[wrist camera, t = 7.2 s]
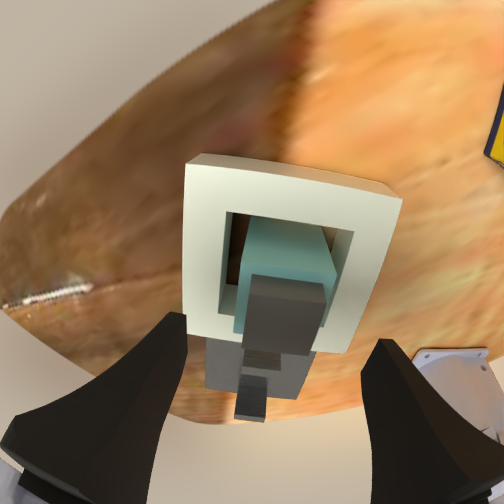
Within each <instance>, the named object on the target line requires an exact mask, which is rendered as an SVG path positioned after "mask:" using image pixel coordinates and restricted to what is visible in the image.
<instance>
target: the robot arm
mask: <svg viewBox="0 0 504 504" xmlns="http://www.w3.org/2000/svg"><path fill="white" fill-rule="evenodd" d="M187 353H188V350H187V315H186V314H181V313H175V312H169V313H168V314H167V315H166V316H165V317H164V318H163V319H162V320H161V321H160V322H159V323H158V324H157V325H156V326H155V327H154V328H153V329H152V330H151V331H150V332H149V333H148V334H147V335H146V336H145V337H144V338H143V339H142V340H141V341H140V342H139V343H138V344H137V345H136V346H135V347H134V348H133V349H131V350H130V351H129V352H128V353H127V354H126V355H124V356H123V357H122V358H121V359H120V360H118V361H117V362H116V363H115V364H114V365H112V366H111V367H110V368H108V369H107V370H106V371H104V372H103V373H102V374H100V375H99V376H97V377H96V378H95V379H93V380H91V381H90V382H88V383H87V384H85V385H84V386H82V387H81V388H79V389H77V390H75V391H73V392H72V393H70V394H68V395H66V396H64V397H62V398H60V399H58V400H55V401H54V402H51V403H49V404H47V405H45V406H42V407H40V408H37V409H34V410H31V411H28V412H26V413H23V414H20V415H16V416H15V417H14V419H13V420H12V422H11V423H10V425H9V427H8V429H7V431H6V432H5V434H4V436H3V438H2V440H1V442H0V447H1V449H2V450H3V451H4V452H6V453H7V454H8V455H9V456H10V457H11V458H13V459H14V460H15V461H16V462H17V463H18V464H20V465H21V466H22V467H24V468H25V469H24V471H23V473H21V472H19V471H18V470H16V469H15V468H13V467H12V466H11V465H9V464H8V463H6V462H5V461H4V460H2V459H1V458H0V504H146V502H147V495H148V489H149V483H150V478H151V472H152V468H153V463H154V458H155V454H156V450H157V445H158V442H159V437H160V433H161V430H162V427H163V424H164V421H165V419H166V416H167V413H168V411H169V408H170V405H171V403H172V400H173V398H174V395H175V392H176V390H177V387H178V385H179V382H180V379H181V377H182V373H183V369H184V365H185V361H186V357H187ZM488 354H489V350H488V348H476V349H422V350H420V351H418V353H417V354H416V356H415V357H414V359H413V360H412V361H411V360H410V359H409V358H408V356H407V355H406V354H405V353H404V352H403V350H402V349H401V348H400V347H399V346H398V345H397V343H396V342H395V341H394V340H393V339H380V338H379V340H378V342H377V344H376V346H375V348H374V349H373V351H372V353H371V355H370V357H369V359H368V360H367V362H366V364H365V366H364V368H363V369H362V371H361V388H362V398H363V403H364V409H365V414H366V419H367V424H368V429H369V435H370V441H371V449H372V492H371V503H370V504H504V393H503V391H502V389H501V387H500V385H499V383H498V381H497V380H496V377H495V375H494V373H493V372H492V370H491V368H490V366H489V364H488V362H487V360H486V359H485V358H486V356H487V355H488Z"/></svg>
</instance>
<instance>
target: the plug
mask: <svg viewBox="0 0 504 504" xmlns="http://www.w3.org/2000/svg"><path fill="white" fill-rule="evenodd" d="M336 277H337V273H336V270H335V267H334V264H333V261H332V258H331V255H330V252H329V249H328V246H327V243H326V240H325V237H324V234H323V231H322V228H321V226H317V225H310V224H304V223H298V222H291V221H285V220H278V219H271V218H264V217H257V216H251V218H250V223H249V227H248V232H247V236H246V241H245V246H244V250H243V255H242V259H241V266H240V274H239V283H238V291H237V300H236V309H235V317H234V326H233V333H236V334H243V339H242V345H241V348H242V349H250V350H257V351H265V352H273V353H282V354H292V355H302V356H309V354H310V351H311V348H312V346H313V343H314V342H315V339H316V336H317V334H318V331H319V328H320V325H321V322H322V319H323V316H324V314H325V311H326V308H327V305H328V302H329V299H330V295H331V292H332V289H333V286H334V283H335V280H336Z"/></svg>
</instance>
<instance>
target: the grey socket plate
mask: <svg viewBox="0 0 504 504" xmlns="http://www.w3.org/2000/svg"><path fill="white" fill-rule="evenodd" d="M241 345H242V343H241V342H234V341H228V340H221V339H215V338H210V337H206V370H205V388H208V389H214V390H220V391H226V392H233V393H237V399H236V406H235V413H234V419H238V420H246V421H254V422H263V423H264V421H265V416H266V400H267V397H272V398H283V399H295V400H296V399H297V397H298V395H299V392H300V390H301V388H302V385H303V383H304V381H305V378H306V376H307V374H308V371H309V369H310V366H311V364H312V361H313V359H314V357H315V354H316V351H310V354H309V356H302V355H292V354H282V353H273V352H265V351H257V350H250V349H242V348H241Z"/></svg>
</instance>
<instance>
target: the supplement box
mask: <svg viewBox="0 0 504 504" xmlns="http://www.w3.org/2000/svg"><path fill="white" fill-rule="evenodd" d="M485 155H486V156H487V157H489V158H491V159H492V160H493V161H495V162H496V163H498V164H499V165H500V166H501V167H503V168H504V88H503V92H502V96H501V100H500V104H499V108H498V111H497V115H496V118H495V122H494V125H493V128H492V131H491V134H490V138H489V141H488V143H487V146H486V149H485Z"/></svg>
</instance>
